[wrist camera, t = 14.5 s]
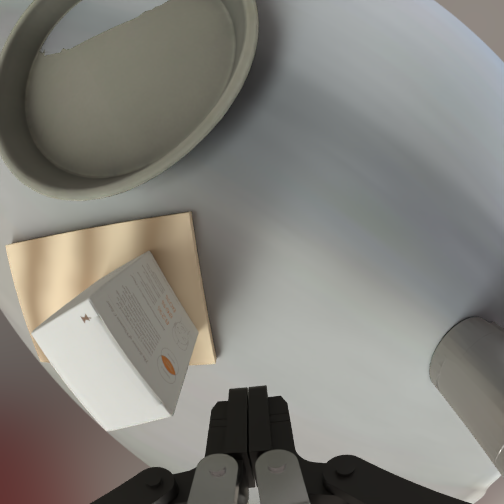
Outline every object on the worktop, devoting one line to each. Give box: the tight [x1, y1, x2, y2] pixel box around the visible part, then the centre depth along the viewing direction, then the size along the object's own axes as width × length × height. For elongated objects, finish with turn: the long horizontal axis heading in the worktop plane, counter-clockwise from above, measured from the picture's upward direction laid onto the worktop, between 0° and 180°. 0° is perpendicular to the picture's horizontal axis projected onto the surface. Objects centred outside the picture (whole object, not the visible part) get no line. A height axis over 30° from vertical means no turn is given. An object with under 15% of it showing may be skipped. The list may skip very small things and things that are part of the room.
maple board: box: [6, 212, 216, 365], centre depth 25 cm, size 20×13×1 cm, turn 97°
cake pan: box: [0, 0, 259, 201], centre depth 19 cm, size 25×25×4 cm
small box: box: [31, 251, 199, 431], centre depth 19 cm, size 8×6×10 cm
